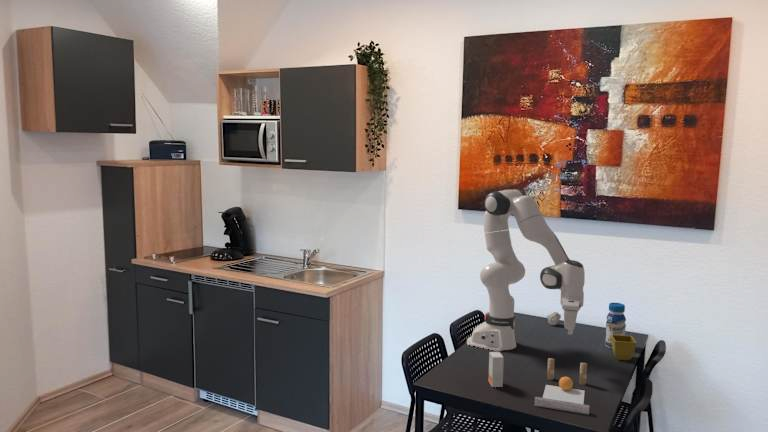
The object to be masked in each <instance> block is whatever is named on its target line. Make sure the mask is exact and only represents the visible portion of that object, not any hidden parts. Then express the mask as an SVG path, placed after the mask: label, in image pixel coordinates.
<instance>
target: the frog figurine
mask: <svg viewBox="0 0 768 432" xmlns="http://www.w3.org/2000/svg"><path fill="white" fill-rule="evenodd" d="M561 317H562V315H561V314H560V313H559V312H558V311H553V312H552V313H549V314H548V315H546V318H547V322H548V324H549V325H550V326H556V325H558V322H559V321H560V319H561Z"/></svg>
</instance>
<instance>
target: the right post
mask: <svg viewBox="0 0 768 432" xmlns="http://www.w3.org/2000/svg"><path fill="white" fill-rule="evenodd" d="M587 372H588V363H587V362H580V364H579V381H578V384H579V385H581V386H586V385H587V374H588V373H587Z"/></svg>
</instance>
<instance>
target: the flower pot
mask: <svg viewBox="0 0 768 432" xmlns="http://www.w3.org/2000/svg"><path fill="white" fill-rule="evenodd" d="M611 340H612V348H611V349H612V352H613V355H614V356H615V358H616V360H618V361H619V360H620V361H630V360H631V359H632V358H633V356H634V354H635V352H636V347H637V341H636V340H635V338H634V337H633V336H632V335H625V336H623V335H611Z"/></svg>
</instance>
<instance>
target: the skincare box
mask: <svg viewBox="0 0 768 432" xmlns="http://www.w3.org/2000/svg"><path fill="white" fill-rule="evenodd" d="M488 353H489V355H488V356H489V357H488V383H489V384H490V387H491V388H492V387H495V388H494V389H496V387H502V388H503V386H504V384H503V383H504V382H503V381H504V356H503V354H502V353H501V351H489V352H488Z"/></svg>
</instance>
